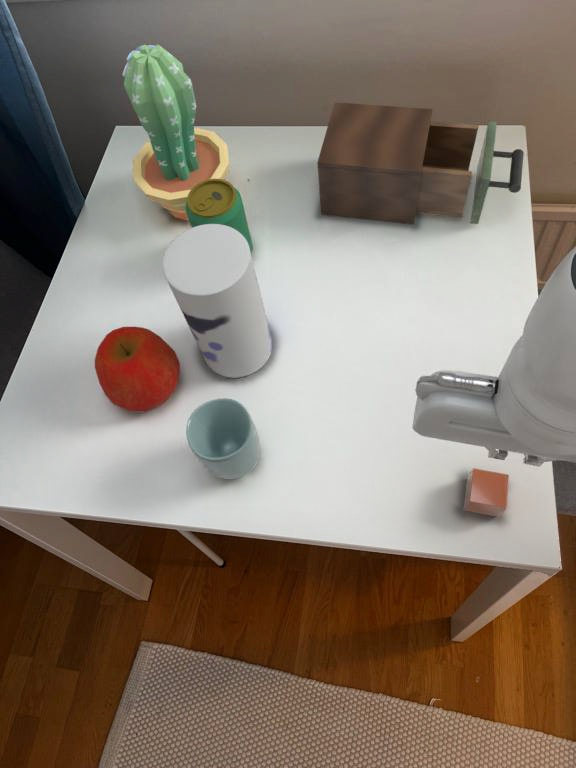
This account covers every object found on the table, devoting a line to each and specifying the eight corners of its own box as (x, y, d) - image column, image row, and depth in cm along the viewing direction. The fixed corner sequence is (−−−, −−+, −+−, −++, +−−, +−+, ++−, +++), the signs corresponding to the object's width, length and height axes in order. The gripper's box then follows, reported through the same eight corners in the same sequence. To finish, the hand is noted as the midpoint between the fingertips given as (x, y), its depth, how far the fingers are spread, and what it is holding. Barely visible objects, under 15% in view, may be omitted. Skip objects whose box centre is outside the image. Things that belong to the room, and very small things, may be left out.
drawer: (515, 171, 90) (530, 124, 83) (510, 227, 86) (525, 182, 78) (398, 161, 94) (402, 114, 86) (387, 214, 89) (391, 170, 81)
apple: (198, 362, 82) (178, 322, 72) (163, 430, 78) (137, 396, 68) (133, 341, 84) (105, 299, 75) (96, 405, 80) (62, 369, 71)
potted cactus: (246, 166, 98) (215, 18, 76) (229, 238, 91) (189, 98, 69) (160, 164, 100) (104, 19, 78) (137, 233, 94) (69, 97, 72)
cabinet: (424, 165, 94) (432, 108, 85) (414, 224, 89) (421, 171, 79) (336, 157, 97) (334, 102, 87) (321, 214, 92) (317, 162, 82)
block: (501, 484, 70) (509, 474, 66) (498, 517, 68) (506, 508, 65) (467, 478, 71) (473, 468, 67) (463, 510, 69) (469, 501, 65)
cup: (211, 494, 73) (192, 469, 64) (199, 438, 77) (179, 408, 68) (271, 476, 73) (259, 449, 64) (256, 422, 77) (243, 389, 68)
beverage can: (264, 253, 89) (251, 196, 79) (223, 283, 88) (205, 228, 77) (233, 225, 93) (217, 166, 82) (193, 253, 91) (171, 197, 80)
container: (193, 369, 81) (147, 284, 64) (217, 311, 85) (181, 216, 68) (260, 385, 79) (232, 301, 61) (281, 324, 83) (261, 230, 65)
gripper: (413, 407, 44) (400, 465, 57) (709, 456, 40) (626, 507, 53) (424, 337, 47) (409, 407, 59) (702, 377, 43) (625, 443, 55)
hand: (513, 454), depth 56 cm, fingers closed
